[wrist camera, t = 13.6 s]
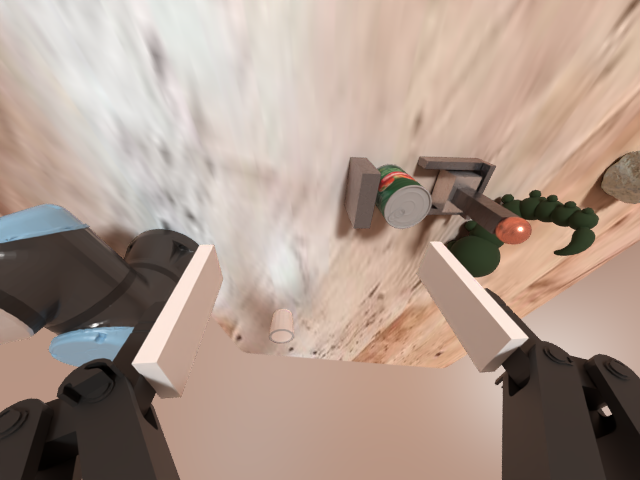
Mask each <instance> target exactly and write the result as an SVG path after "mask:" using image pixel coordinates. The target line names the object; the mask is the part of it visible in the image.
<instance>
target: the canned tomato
mask: <svg viewBox="0 0 640 480" xmlns="http://www.w3.org/2000/svg"><path fill="white" fill-rule="evenodd" d="M377 170H378V171H379V172H380V173H381V178H380V182H379V187H378V192H377V197H376V201H375V204H376V206H377V207H378V209H379V210H380V212H381V213H382V215H383V216H384V218H385V220H386V221H387V223H388V224H389V225H390V226H392V227H394V228H398V229H405V228H410V227H412V226H414V225H416V224H418V223H419V222H421V221H422V220H423V219H424V218H425V217H426V215H427V214H428V212H429V210H430V208H431V204H432V199H431V195H430V193H429V192H428V190H427V189H425V188H424V187H423V186H421V185H420V184H419V183H418V182H417V181H415V180H414V179H413V178H412V177H411V176H409V175H408V174H407V173H406V172H405V171H403V170H402V169H401V168H400V167H399V166H397V165H393V164H387V165H383V166H381V167H379V168H377Z"/></svg>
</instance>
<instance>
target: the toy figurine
mask: <svg viewBox="0 0 640 480" xmlns="http://www.w3.org/2000/svg"><path fill="white" fill-rule="evenodd" d="M529 195H530V198H526V199H524V200H522V201H521V200H514V197H513V196H512V195H511V194H506V195H504V196H503V197H502V199H501V200H502V202H503V203H504V204H503V205H502V206H503V207H504V208H506V209H508V210H509V211H511V212H513V213H514V214H516V215H518V216H519V217H520V218H523V219H525V220H537V219H538V220H540V221H542V222H553V223H555V224H556V225H558V226H563V227H568V226H569V227H571V228H572V229H574V230H576V231H574V233H573V235H572V240H571V242H570V243H569V244H568V246H566V247H565V248H563V249H561V250H556V251H554V254H555V255H560V256H568V255H574V254H578V253H580V252H582V251H585V250H586V249H587V248H589V247H590V246H591V245H592V243H593V242H594V240H595V234H594V232H593V231H592V230H590V229H591V228H593V227H595V226H596V225H597V223H598V219H599V218H598V216H597V215H596V214H595V213H594V211H593V209H592V208H585V209H583V210H581V209H580V208H579V207H577V206H576V203H575V202H573V201H569V202H566V203H565V205H563V204H562V203H561V202H559V201H557V200H558V198H557V196H556V195H550V196H549V197H547V199H546V198H545V197H540V196H541V192H540V191H538V190H534V191H532V192H530V193H529ZM465 228H466V229H467V230H468V231H470V232H469V236H466V237H463V238H461V239H459V240H458V241H451V242H449V243H448V245H447V249H448V250H449V251H450V252H451V253H452V254H453V256H454V257H455V258H456V259H457V260H458V261H459V262H460V263H461V264H462V265H463V267H464V268H465V269H466V270H467V271H468V272H469V273H470V274H471V275H472V276H473V277H483V276H486V275H488V274H490V273H492V272H493V271H494V270H495V269H496V268H497V266H498V265H499V262H500V251H499V249H498V248H499V247H501V246H502V245H503V244H504V242H502V241H500V240H499V239H498V238H497V236H496V234H491V233H489V232H488V231H487V230H486V229H484V228H483V227H482V226H480V225H479V224H478V223H476V222H475V221H474V220H473V221H468V222H467V223H466V225H465Z"/></svg>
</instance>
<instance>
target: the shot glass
mask: <svg viewBox="0 0 640 480" xmlns="http://www.w3.org/2000/svg"><path fill="white" fill-rule="evenodd" d="M293 338H294V328H293V318H292V313H291V311H289V310H286V309H280V310H277V311H275V312H274V314H273V318H272V323H271V328H270V333H269V339H270V340H271V341H273V342H275V343H287V342H290V341H291V340H292V339H293Z"/></svg>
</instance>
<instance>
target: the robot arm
mask: <svg viewBox="0 0 640 480" xmlns="http://www.w3.org/2000/svg"><path fill="white" fill-rule="evenodd" d="M89 227H90V226H89V225H87V224H84V223H82V222H81V221H80V220H79V219H78V218H76V217H75V216H74V215H73V214H72V213H70V212H69V211H68V210H67V209H65V208H63V207H61V206H58V205H54V204H42V205H38V206H34V207H31V208H28V209H25V210H22V211H18V212H15V213H12V214H9V215H6V216H3V217H0V345H1V344H4V343H9V342H13V341H19V340H23V339H28V338H30V337H31V336H33V335H34V334H35V333H37V332H38V331H39V330H40V329H41V328H43V327H45V328H47V329H49V330H50V331H52V332H54V333H56V334H57V335H58V336H57V337H55V338H54V339H53V340H52V341H51V345H50V347H49V352H50V353H51V355H52V356H53V357H54V358H55V359H57V360H59V361H61V362H63V363H66V364H69V365H73V366H77V367H78V368H77V369H75V370H74V371H73V372H71V373H70V374H69V375H68V376H67V377H66V378H65V379H64V381H63V382H62V384H61V385H60V387H59V388H58V393H57V397H58V398H59V399H56V400H53V401H50V402H47V403H44V402H42V401H40V400H39V399H26V400H23V401H20V402H17V403H16V404H13V405H11V406H10V407H8V408H6V409H5V410H3V411H2V412H1V413H0V480H81V479H82V480H180V478H179V475H178V473H177V470H176V467H175V464H174V462H173V459H172V456H171V453H170V451H169V448H168V445H167V442H166V440H165V437H164V434H163V431H162V429H161V426H160V423H159V420H158V418H157V415H156V412H155V409H154V407H153V405H152V404H151V402H152V400H153V398H154V396H155V393H157V394H158V395H159V397H161V398H173V397H181V396H182V394H183V391H184V388H185V385H186V382H187V379H188V377H189V374H190V371H191V368H192V365H193V363H194V360H195V357H196V354H197V351H198V349H199V346H200V343H201V340H202V337H203V335H204V332H205V329H206V326H207V323H208V321H209V317H210V315H211V312H212V310H213V307H214V304H215V301H216V298H217V295H218V293H219V290H220V287H221V284H222V281H223V276H222V272H221V269H220V265H219V261H218V258H217V254H216V250H215V247H214V245H200V246H199V245H198V244H197V243H196V242H195V241H193V240H192V239H190V238H189V237H187V236H185V235H183V234H181V233H178V232H175V231H171V230H164V229H155V230H149V231H146V232H143V233H141V234H140V235H138V236H137V237H136V238H135V239H134V240H133V241H132V242H131V243H130V245H129V246H128V249H127V252H126V255H125V258H124V259H122V258H121V257H120V256H119V255H118V254H117V253H116V252H115V251H114V250H113V249H112V248H111V247H109V246H108V245H107V244H106V243H105V242H104V241H103V240H102V239H101V238H100V237H99V236H98V235H96V234H95V233H94V232H93V231H92V230H91V229H90V228H89ZM417 275H418V277H419V278H420V280H421V281H422V283H423V284H424V286H425V288H426V289H427V291H428V292H429V294H430V295H431V297H432V299H433V300H434V302H435V303H436V305H437V306H438V308H439V310H440V311H441V313H442V314H443V316H444V317H445V319H446V321H447V322H448V324H449V325H450V327H451V328H452V330H453V332H454V333H455V335H456V336H457V338H458V339H459V341H460V342H461V344H462V346H463V347H464V349H465V350H466V352H467V353H468V355H469V357H470V358H471V359H472V361H473V363H474V364H475V366H476V368H477V369H478V371H479V372H492V371H495V370H496V369H497V368H499V366H501V365H502V366H503V367H504V369H505V370H506V371H505V372H504V373H503V374H502V375H501V376H500V377H499V378H498V379H497V380H496V382H495V384H496V385H498V384H499V383H501V382H502V381H503V386H502V388H503V425H502V428H503V430H502V480H640V378H639V377H638V376H637V375H636V374H635V373H634V372H633V371H632V370H631V369H630V368H628V367H627V366H626V365H624V364H623V363H621V362H620V361H618V360H616V359H614V358H612V357H609V356H607V355H602V354H598V355H595V356H593V357H592V358H590V359H589V360H586V359H582V358H578V357H574V356H570V355H569V354H568V353H566V352H565V351H564V350H563V349H561V348H560V347H558V346H556V345H554V344H552V343H549V342H546V341H541V340H540V339H539V338H538V337H537V336H536V335H535V334H534V333H533V332H532V331H531V330H530V329H529V328H528V327H527V326H526V324H525V323H524V322H523V321H522V320H521V319H520V318H519V317H518V316H517V315H516V314H515V313H513V311H512V310H511V309H510V308H509V307H508V306H506V303H505V302H504V301H503V300H502V299H501V298H500V297H499V296H498V295H496V294H495V293H493V292H492V291H491V290H489V289H488V288H485V289H484V288H483V287H482V286H481V285H480V284H479V283H478V282H477V281H476V280H475V279H474V277H473V276H472V275H471V274H470V273H469V272H468V271H467V270H466V269H465V268H464V267H463V265H462V264H461V263H460V262H459V261H458V260H457V259H456V258H455V257H454V256H453V254H452V253H451V252H450V251H449V250H448V249H447V248H446V247H445V246H444V245H443V244H442V242H429V244H428V246H427V249H426V251H425V254H424V256H423V259H422V261H421V264H420V266H419V269H418V271H417ZM605 406H608V408H609V409H610V411H611V413H612V415H610V416H606V415H605V414H604V412H603V411H602V409H601V408H603V407H605Z"/></svg>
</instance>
